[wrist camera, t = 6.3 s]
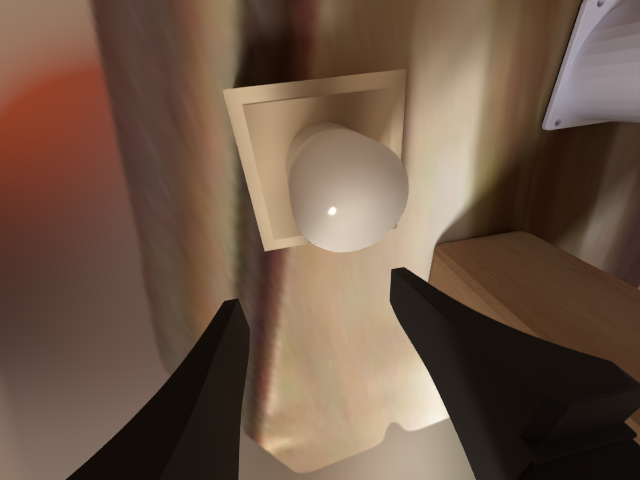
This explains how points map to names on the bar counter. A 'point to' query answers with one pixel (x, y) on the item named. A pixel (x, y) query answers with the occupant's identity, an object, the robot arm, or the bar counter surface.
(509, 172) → the bar counter surface
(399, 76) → the base
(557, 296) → the wooden block
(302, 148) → the white rounded cylinder
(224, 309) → the robot arm
